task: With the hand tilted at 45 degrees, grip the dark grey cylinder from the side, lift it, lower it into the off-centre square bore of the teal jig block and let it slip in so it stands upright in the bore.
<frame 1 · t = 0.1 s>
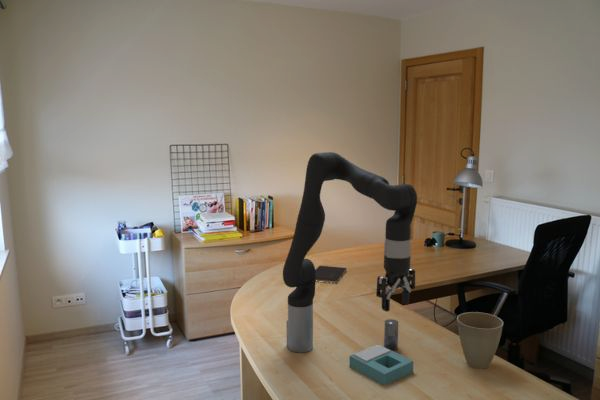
hand: (395, 307, 149), 29 cm above the table, tool pointing down, fingers open, 8 cm apart
plant pot: (477, 364, 176), on the table
jig: (380, 369, 172), on the table
hardcover book: (327, 277, 273), on the table
dark grey cylinder: (390, 347, 188), on the table
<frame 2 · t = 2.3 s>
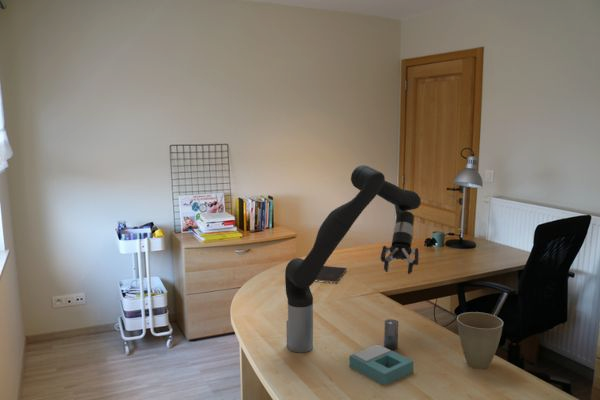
hand: (397, 272, 194), 26 cm above the table, tool tilted 45°, fingers open, 8 cm apart
nothing on the table moved.
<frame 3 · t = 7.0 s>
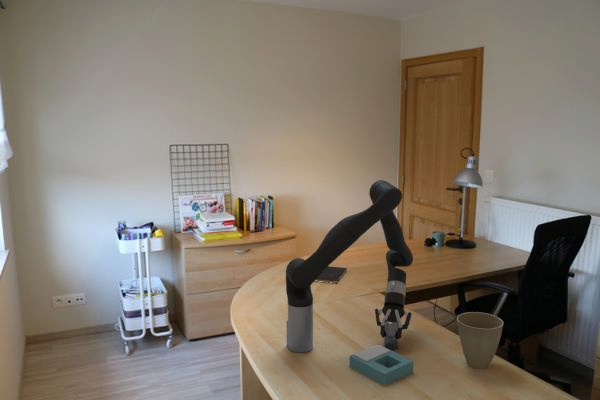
hand: (390, 337, 186), 5 cm above the table, tool tilted 45°, fingers closed on dark grey cylinder, 5 cm apart
dark grey cylinder: (390, 347, 188), on the table, touching gripper
everything else where it was.
when the fingers open (7 cm above the table, at t = 13.3 s): dark grey cylinder drops 2 cm, resting in jig.
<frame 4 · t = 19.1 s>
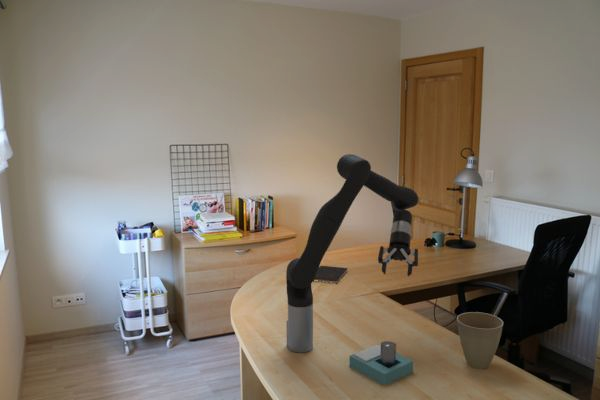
hand: (396, 274, 182), 29 cm above the table, tool tilted 45°, fingers open, 8 cm apart
dark grey cylinder: (387, 372, 170), resting in jig
everything else where it was.
at the end: dark grey cylinder 0.1 cm from the target spot on the jig, point 0.0 cm above the jig's base; dark grey cylinder tilted 0°; the gripper is holding nothing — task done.
